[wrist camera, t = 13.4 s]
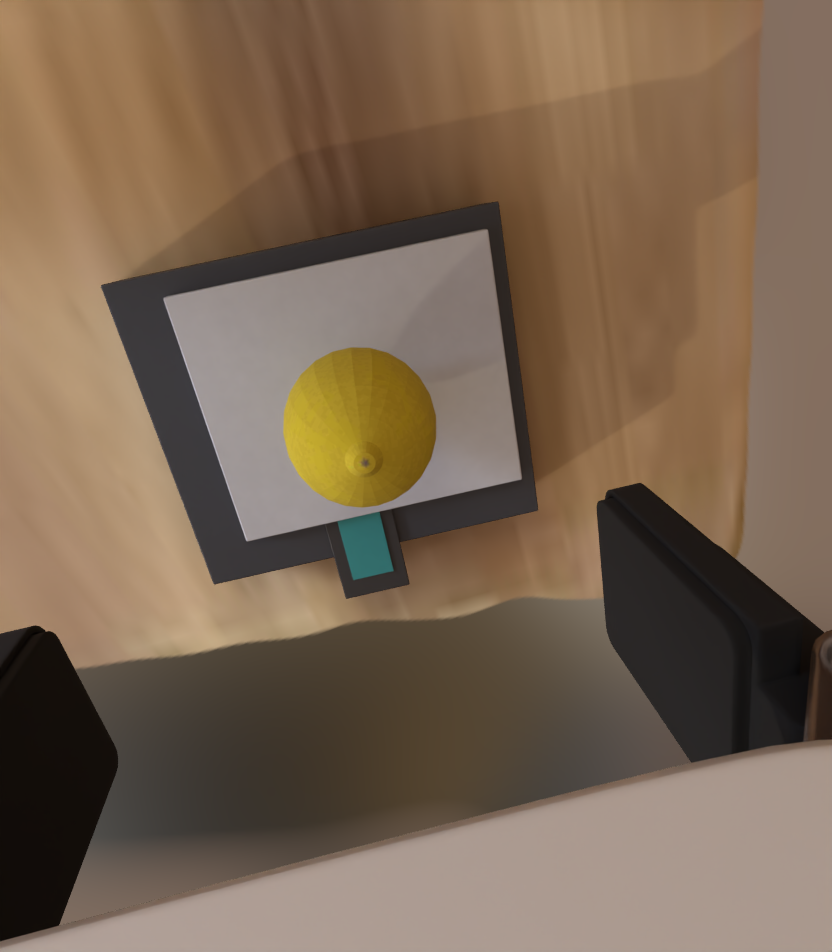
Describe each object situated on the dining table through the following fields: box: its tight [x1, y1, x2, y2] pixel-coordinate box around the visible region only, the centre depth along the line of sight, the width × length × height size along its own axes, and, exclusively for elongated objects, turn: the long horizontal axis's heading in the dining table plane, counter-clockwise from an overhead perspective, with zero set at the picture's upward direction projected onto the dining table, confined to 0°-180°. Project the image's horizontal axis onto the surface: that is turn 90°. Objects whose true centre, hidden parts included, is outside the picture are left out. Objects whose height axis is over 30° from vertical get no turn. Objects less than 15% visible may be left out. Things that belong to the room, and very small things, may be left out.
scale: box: [101, 202, 538, 599], centre depth 28 cm, size 16×16×3 cm
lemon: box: [283, 347, 436, 508], centre depth 23 cm, size 6×6×8 cm
